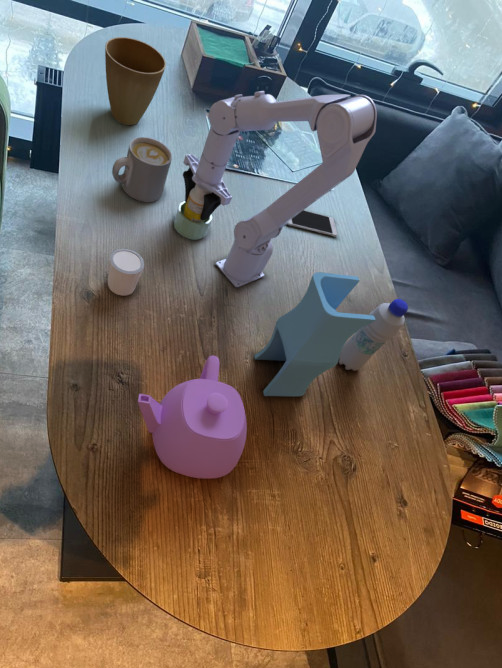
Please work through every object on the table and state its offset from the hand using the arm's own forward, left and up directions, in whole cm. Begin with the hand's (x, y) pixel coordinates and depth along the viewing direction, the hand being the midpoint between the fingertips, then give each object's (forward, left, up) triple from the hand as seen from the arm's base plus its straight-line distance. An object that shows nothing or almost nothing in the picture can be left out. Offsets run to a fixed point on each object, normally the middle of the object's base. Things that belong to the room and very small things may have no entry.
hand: (196, 210), depth 117 cm
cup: (0, 0, -5) cm, 5 cm away
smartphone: (-35, +10, -5) cm, 37 cm away
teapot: (+36, +43, -5) cm, 56 cm away
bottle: (-9, +48, -5) cm, 49 cm away
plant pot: (-9, -41, -5) cm, 42 cm away
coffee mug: (+5, -16, -5) cm, 18 cm away
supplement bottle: (0, 0, -3) cm, 3 cm away
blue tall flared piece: (+9, +43, -5) cm, 44 cm away
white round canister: (+26, +9, -5) cm, 28 cm away
